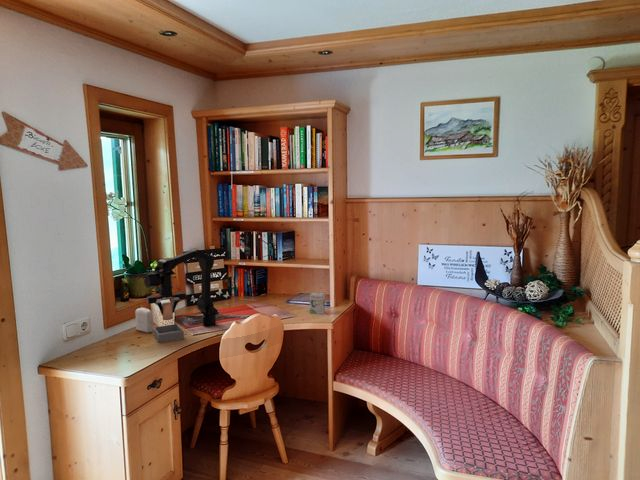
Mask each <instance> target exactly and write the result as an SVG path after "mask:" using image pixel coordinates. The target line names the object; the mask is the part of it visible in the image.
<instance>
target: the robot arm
mask: <svg viewBox="0 0 640 480" xmlns="http://www.w3.org/2000/svg"><path fill="white" fill-rule="evenodd" d="M192 259H195V260H197V261H198V265H199V268H200V270H201V282H200V283H201V292H200V293H201V294H200V298H198V299H197V300H196V301H197V302H196V303H197V305H196V307H197V309H198V310H199V311H200V314H202V317H201V324H202V325H203V326H204V327H212V326H213V327H214V326H217V325H218V324H217V323H216V315H218V309H217V308H216V307H214V301H213V299H212V296H211V291H212V290H211V286H212V285H211V282H212V281H211V280H212V279H211V275H212V269H213V267H214V265H215V264H214V263H215V257H214V255H212V254H209V253H208V254H207V253H205V252H203V251H201V250H199V249H195V248H192V249H190V250H188V251H186V252H183V253H181V254H178V255H176V256H174V257H167V258H161V259H159V260H158V261H157V264H156V266H155V268H154V270H153V271H152V273H146V275H145V277H144V279H143V280H144V281H143V282H144V285H145V287H146V288H147V289H149V288H154V287H155V288H154V293H155V295H148V296H147V297H146V302H147V304H149V305H151V304H155V305H157V307H158V309H159V311H160V314H161V316H163V310H162V303H163V302H162V301H164V300H171V301H172V302H171V303H172V309H173V314H175V310H176V307H177V306H178V303H179V302H181V300H186V299H187V293H186V292H184V291H177V292H175V293H176V294H173V279H172V275H176V272H174V271H173V270H174V269H175V268H176V267H178V266H179V265H180V264H183V263H185V262H188V261H189V260H192ZM156 295H158V296H156Z"/></svg>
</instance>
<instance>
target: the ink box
mask: <svg viewBox="0 0 640 480" xmlns="http://www.w3.org/2000/svg"><path fill="white" fill-rule="evenodd" d="M309 313H310V314H311V315H312V314H315V315H324V314H325V313H326V294H325V293H320V292H311V293H309Z"/></svg>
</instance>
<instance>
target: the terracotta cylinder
mask: <svg viewBox="0 0 640 480" xmlns="http://www.w3.org/2000/svg"><path fill="white" fill-rule="evenodd" d="M161 303H162V310H163V315H162V320H163V321H170V320H173V318H174V313H173V309H172V302H171V301H168V302H161Z"/></svg>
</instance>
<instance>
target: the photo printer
mask: <svg viewBox="0 0 640 480" xmlns="http://www.w3.org/2000/svg"><path fill="white" fill-rule="evenodd" d="M134 311H135V313H134V314H135V315H134V316H135V329H136V331H140V332H144V333H152V332H154V330H153V327H154V322H153V321H154V319H153V311H152V310H150V309H149V308H145V307H138V308H137V309H135V310H134Z"/></svg>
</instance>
